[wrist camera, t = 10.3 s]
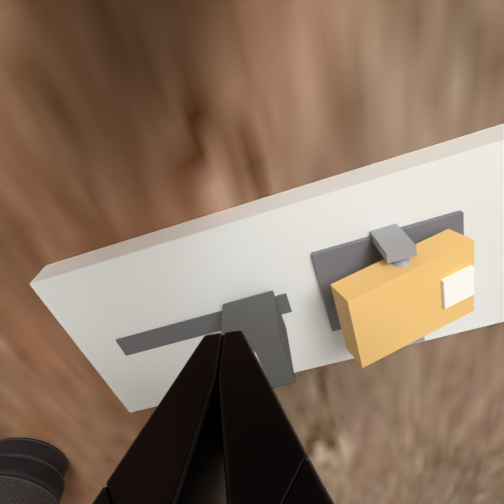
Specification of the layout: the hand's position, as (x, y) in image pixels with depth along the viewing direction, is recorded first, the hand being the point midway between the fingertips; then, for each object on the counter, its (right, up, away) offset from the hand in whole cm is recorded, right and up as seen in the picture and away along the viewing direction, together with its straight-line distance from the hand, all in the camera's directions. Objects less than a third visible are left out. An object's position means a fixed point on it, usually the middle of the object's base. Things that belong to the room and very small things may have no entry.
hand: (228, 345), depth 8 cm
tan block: (+9, 0, +10) cm, 14 cm away
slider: (+1, -2, +13) cm, 13 cm away
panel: (+6, +1, +14) cm, 16 cm away
